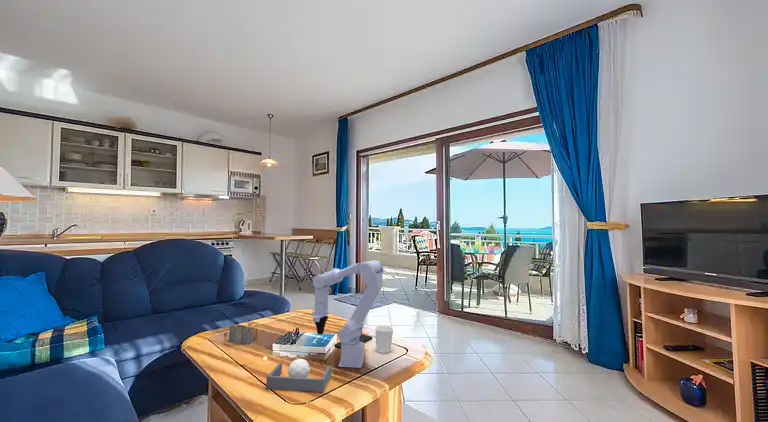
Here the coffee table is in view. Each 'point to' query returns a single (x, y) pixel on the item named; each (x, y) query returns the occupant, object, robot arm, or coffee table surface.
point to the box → (296, 381)
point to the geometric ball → (299, 369)
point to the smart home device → (362, 339)
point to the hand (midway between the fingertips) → (320, 333)
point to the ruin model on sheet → (241, 334)
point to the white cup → (383, 339)
